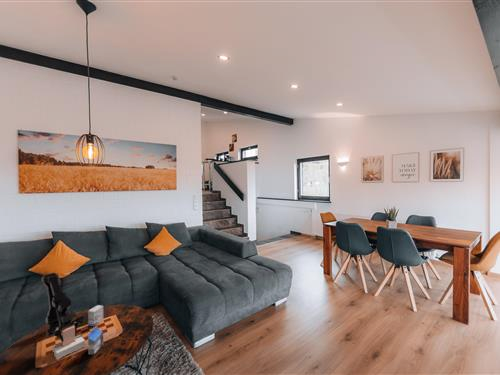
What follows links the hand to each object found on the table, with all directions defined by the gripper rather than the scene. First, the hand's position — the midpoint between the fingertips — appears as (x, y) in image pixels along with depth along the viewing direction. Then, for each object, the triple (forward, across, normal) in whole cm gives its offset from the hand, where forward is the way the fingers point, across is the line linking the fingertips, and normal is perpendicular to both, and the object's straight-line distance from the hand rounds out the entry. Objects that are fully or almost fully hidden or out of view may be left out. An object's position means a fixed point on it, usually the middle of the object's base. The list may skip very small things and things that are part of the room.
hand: (69, 338), depth 143 cm
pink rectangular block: (+4, 0, +6) cm, 7 cm away
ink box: (-7, +20, +17) cm, 28 cm away
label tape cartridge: (+14, +10, -3) cm, 17 cm away
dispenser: (+4, 0, +6) cm, 7 cm away
